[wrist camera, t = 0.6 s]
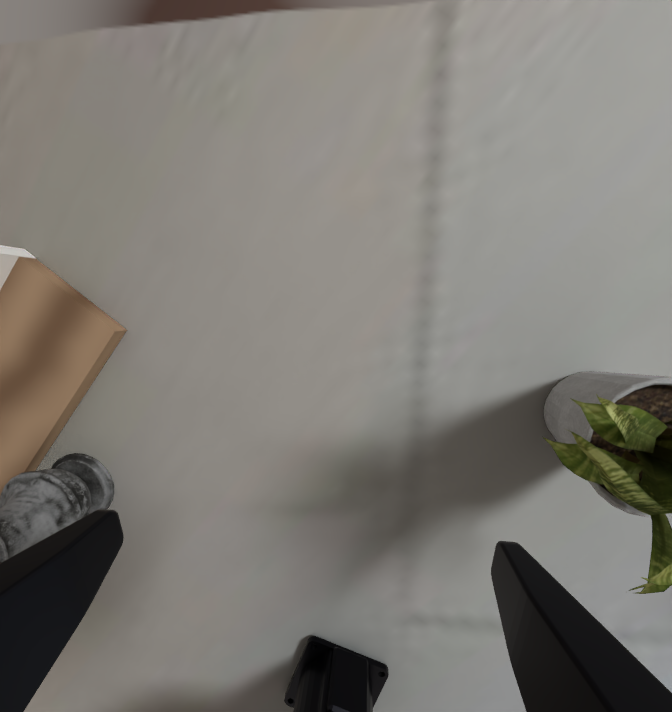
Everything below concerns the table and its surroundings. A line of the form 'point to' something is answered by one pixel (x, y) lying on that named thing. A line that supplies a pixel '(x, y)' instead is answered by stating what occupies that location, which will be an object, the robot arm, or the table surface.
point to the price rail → (10, 260)
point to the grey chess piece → (51, 501)
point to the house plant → (621, 449)
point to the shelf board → (45, 361)
